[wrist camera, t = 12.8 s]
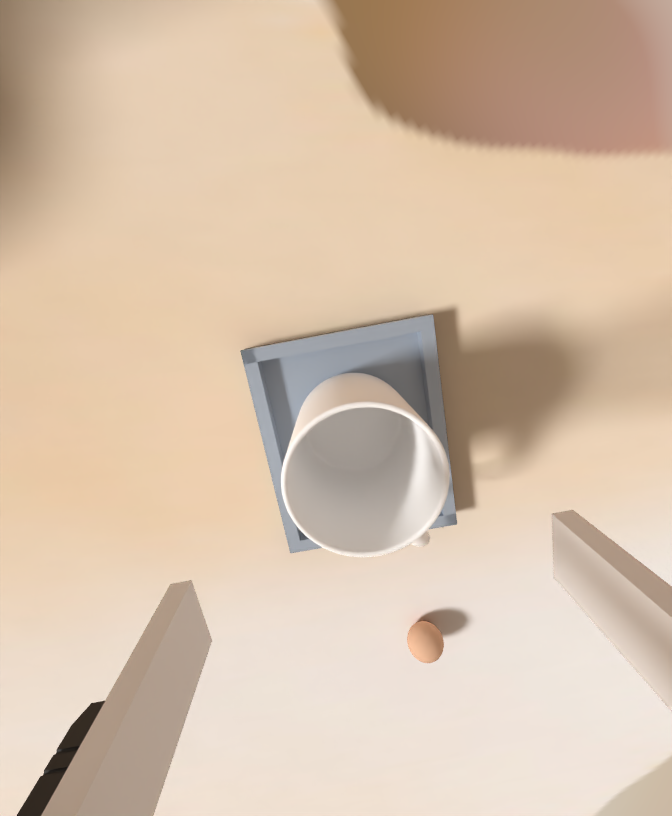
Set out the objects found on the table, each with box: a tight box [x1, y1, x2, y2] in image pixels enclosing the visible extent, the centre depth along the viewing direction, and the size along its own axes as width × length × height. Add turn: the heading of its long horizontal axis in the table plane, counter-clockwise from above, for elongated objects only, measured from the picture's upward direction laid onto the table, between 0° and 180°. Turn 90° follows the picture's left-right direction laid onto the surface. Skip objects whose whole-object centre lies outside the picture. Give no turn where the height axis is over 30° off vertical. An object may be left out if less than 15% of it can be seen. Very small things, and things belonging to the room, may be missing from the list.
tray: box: [241, 315, 457, 553], centre depth 29 cm, size 17×14×2 cm
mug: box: [281, 373, 450, 557], centre depth 24 cm, size 9×12×11 cm
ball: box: [407, 621, 444, 663], centre depth 33 cm, size 3×3×3 cm
